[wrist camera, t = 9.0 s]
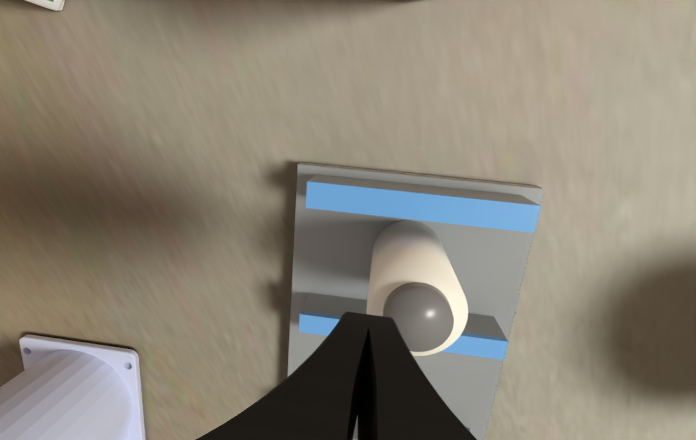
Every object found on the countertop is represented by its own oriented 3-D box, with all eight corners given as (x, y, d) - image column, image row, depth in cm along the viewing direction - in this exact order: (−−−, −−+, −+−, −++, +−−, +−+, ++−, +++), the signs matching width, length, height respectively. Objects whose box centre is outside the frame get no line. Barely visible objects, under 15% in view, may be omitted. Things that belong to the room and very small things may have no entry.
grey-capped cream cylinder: (437, 288, 19) (462, 372, 13) (369, 281, 19) (361, 359, 13) (447, 223, 18) (480, 279, 12) (375, 216, 18) (370, 267, 12)
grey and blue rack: (477, 437, 22) (492, 489, 19) (289, 408, 23) (274, 453, 20) (536, 185, 18) (567, 199, 15) (302, 162, 19) (285, 170, 16)
